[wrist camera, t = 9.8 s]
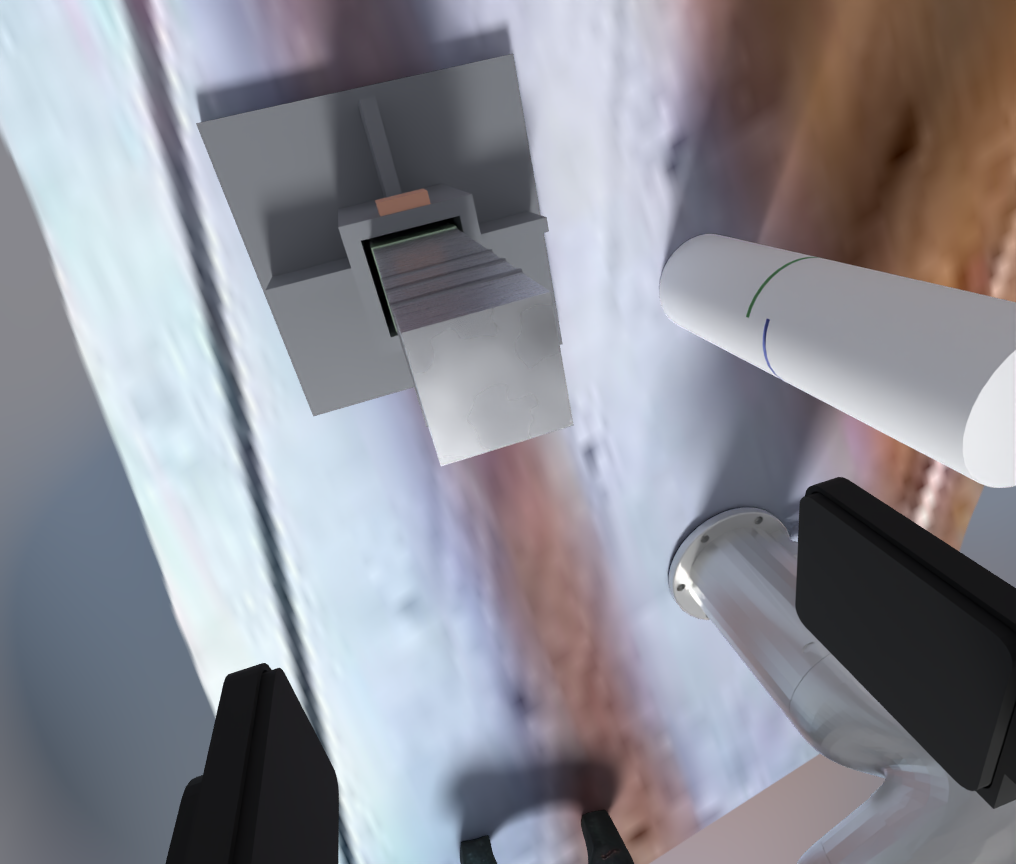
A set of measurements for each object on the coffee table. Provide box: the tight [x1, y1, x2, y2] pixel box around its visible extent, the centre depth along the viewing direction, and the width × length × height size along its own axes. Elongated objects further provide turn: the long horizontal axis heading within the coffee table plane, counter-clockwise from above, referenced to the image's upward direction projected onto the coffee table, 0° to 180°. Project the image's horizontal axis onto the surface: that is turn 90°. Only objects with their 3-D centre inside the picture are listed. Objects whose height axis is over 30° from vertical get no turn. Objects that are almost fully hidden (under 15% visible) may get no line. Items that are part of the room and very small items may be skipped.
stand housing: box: [196, 54, 562, 416], centre depth 34 cm, size 18×18×11 cm
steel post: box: [369, 220, 573, 466], centre depth 24 cm, size 4×4×18 cm
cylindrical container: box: [659, 234, 1016, 488], centre depth 35 cm, size 7×7×25 cm
